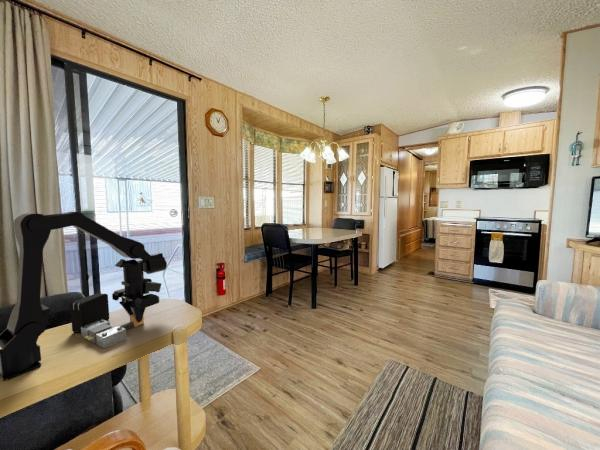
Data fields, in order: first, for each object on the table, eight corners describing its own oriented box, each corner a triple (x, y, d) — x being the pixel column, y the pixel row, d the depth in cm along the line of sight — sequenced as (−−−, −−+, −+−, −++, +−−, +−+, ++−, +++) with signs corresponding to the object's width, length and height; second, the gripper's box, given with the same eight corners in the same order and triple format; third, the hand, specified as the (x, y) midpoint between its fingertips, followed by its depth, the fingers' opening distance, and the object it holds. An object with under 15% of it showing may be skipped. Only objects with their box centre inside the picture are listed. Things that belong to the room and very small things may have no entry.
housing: (104, 348, 73) (103, 336, 73) (81, 336, 80) (80, 325, 80) (126, 338, 78) (125, 327, 78) (103, 328, 85) (102, 318, 85)
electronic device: (109, 319, 92) (107, 293, 91) (83, 333, 82) (81, 303, 81) (99, 319, 92) (97, 292, 92) (72, 333, 83) (69, 303, 82)
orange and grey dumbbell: (90, 345, 75) (89, 334, 74) (84, 342, 77) (83, 331, 76) (144, 323, 88) (144, 313, 88) (138, 321, 90) (137, 311, 90)
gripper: (172, 274, 89) (175, 317, 90) (142, 268, 98) (145, 307, 99) (139, 283, 79) (143, 331, 81) (109, 276, 88) (113, 319, 90)
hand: (137, 321), depth 88 cm, fingers closed on orange and grey dumbbell, 3 cm apart
